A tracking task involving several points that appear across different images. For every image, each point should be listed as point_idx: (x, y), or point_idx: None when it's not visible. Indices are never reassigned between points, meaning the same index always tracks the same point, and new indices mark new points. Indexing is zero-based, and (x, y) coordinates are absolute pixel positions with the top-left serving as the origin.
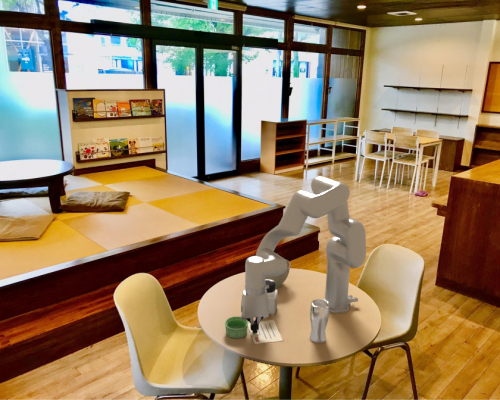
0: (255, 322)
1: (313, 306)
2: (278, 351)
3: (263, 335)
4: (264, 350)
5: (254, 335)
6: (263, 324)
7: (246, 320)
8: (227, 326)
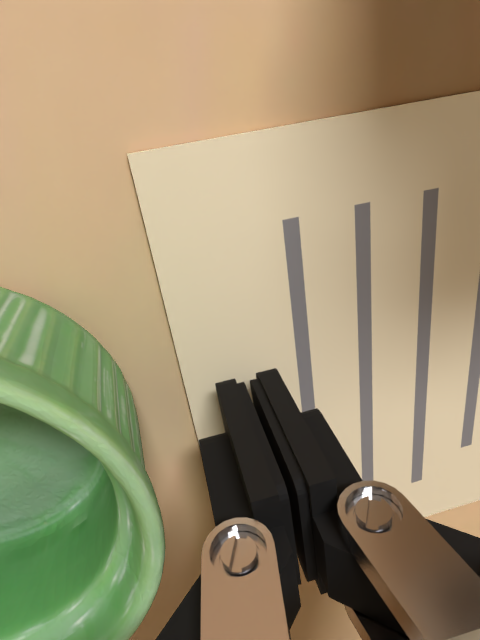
0: (315, 545)
1: None
2: None
3: (349, 444)
4: (314, 618)
5: None
6: (406, 205)
7: (125, 485)
8: None
